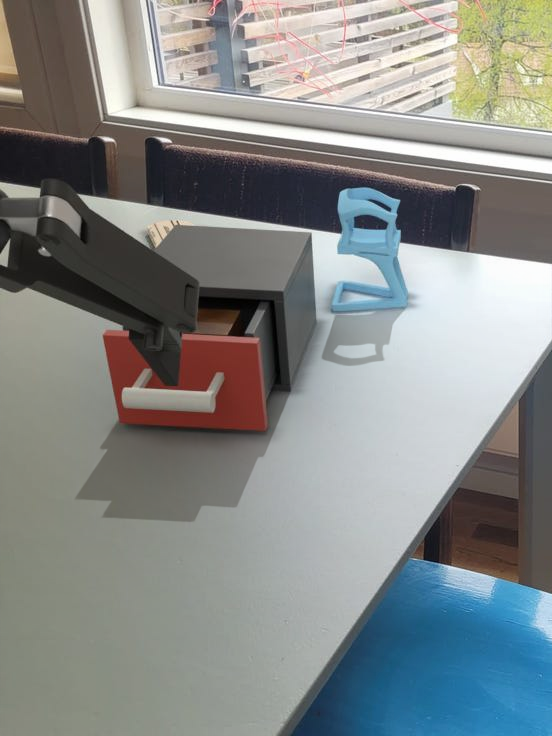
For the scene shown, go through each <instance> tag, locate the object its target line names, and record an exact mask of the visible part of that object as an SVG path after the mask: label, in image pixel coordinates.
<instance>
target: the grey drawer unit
mask: <svg viewBox="0 0 552 736" xmlns="http://www.w3.org/2000/svg"><path fill="white" fill-rule="evenodd" d="M153 251H154V252H156V253H157V254H159V255H160V256H162V257H163V258H165V259H166V260H168V261H169V262H171V263H172V264H174V265H176V266H177V267H179V268H180V269H182V270H183V271H185V272H186V273H188V274H189V275H191V276H192V277H194V278H195V279H197V280H198V281H199V283H200V286H199V296H203V297H221V298H239V299H257V300H275V301H274V305H275V317H276V329H277V342H278V354H279V366H280V369H279V372H278V374H277V377H276V379H275V381H274V384H273V386H272V389H271V391H276V392H292V390H293V387H294V384H295V381H296V379H297V377H298V374H299V371H300V369H301V366H302V364H303V360H304V358H305V356H306V353H307V350H308V349H309V345H310V343H311V340H312V338H313V335H314V332H315V329H316V327H317V305H316V289H315V288H316V287H315V270H314V268H315V267H314V251H313V233H312V231H294V230H279V229H277V230H275V229H257V228H240V227H223V226H222V227H221V226H208V225H207V226H206V225H195V226H189V225H175V226H174V227H173V228H172V230H171V231H170V232H169V233H168V234H167V236H166V237H165V238H164V239H163V240H162V242H161V243H160V244H159V245H158V246H157V248H156V249H155V248H154V250H153Z"/></svg>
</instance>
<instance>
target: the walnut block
mask: <svg viewBox="0 0 552 736" xmlns="http://www.w3.org/2000/svg"><path fill="white" fill-rule="evenodd" d="M183 334H195V335H214V336H232V337H243V328H242V318H241V311H239V310H220V309H202V308H198V311H197V324H196V331H195V332H192V333H183Z"/></svg>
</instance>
